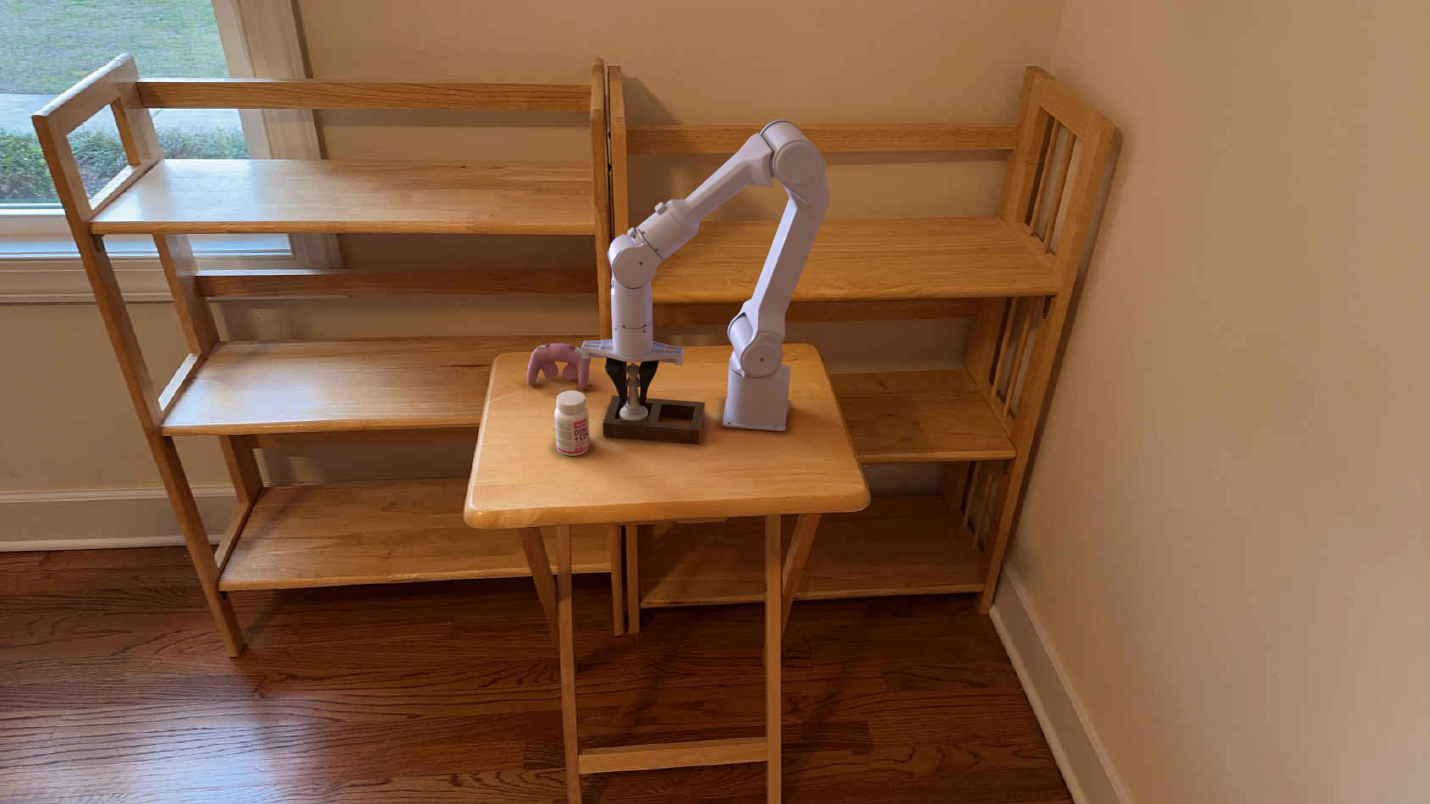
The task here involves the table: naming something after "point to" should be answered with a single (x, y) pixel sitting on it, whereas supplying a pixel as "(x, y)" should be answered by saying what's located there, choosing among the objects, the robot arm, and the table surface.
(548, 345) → the video game controller
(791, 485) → the table surface
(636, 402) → the chess piece
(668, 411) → the stand
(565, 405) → the pill bottle
